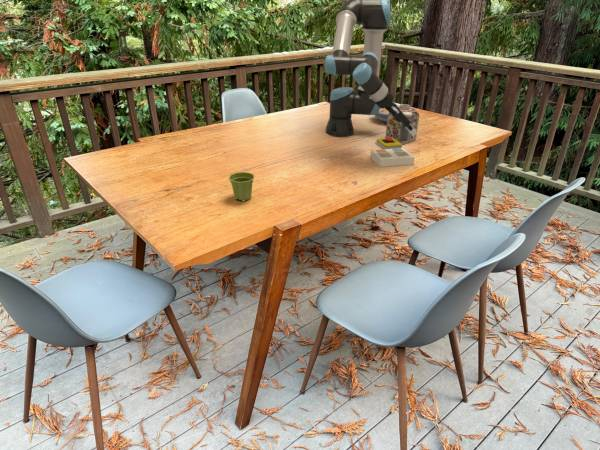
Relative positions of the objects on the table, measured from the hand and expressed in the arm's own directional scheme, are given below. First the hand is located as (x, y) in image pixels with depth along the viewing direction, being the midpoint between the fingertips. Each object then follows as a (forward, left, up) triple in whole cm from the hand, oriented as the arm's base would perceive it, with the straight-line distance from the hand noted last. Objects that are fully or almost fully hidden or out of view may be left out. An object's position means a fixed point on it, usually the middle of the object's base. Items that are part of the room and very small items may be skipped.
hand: (412, 132), depth 183 cm
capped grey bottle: (0, -4, -3) cm, 5 cm away
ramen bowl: (-60, +15, -14) cm, 64 cm away
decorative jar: (-28, +8, -14) cm, 33 cm away
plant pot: (+24, -78, -14) cm, 82 cm away
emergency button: (-19, -2, -14) cm, 24 cm away
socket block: (-1, -8, -13) cm, 15 cm away
